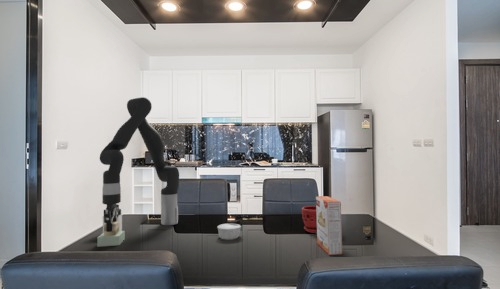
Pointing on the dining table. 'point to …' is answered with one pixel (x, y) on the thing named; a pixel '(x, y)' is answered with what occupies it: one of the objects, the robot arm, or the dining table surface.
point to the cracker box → (329, 225)
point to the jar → (117, 221)
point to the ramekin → (229, 231)
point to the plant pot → (312, 221)
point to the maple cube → (114, 229)
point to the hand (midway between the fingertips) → (111, 229)
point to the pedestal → (111, 239)
